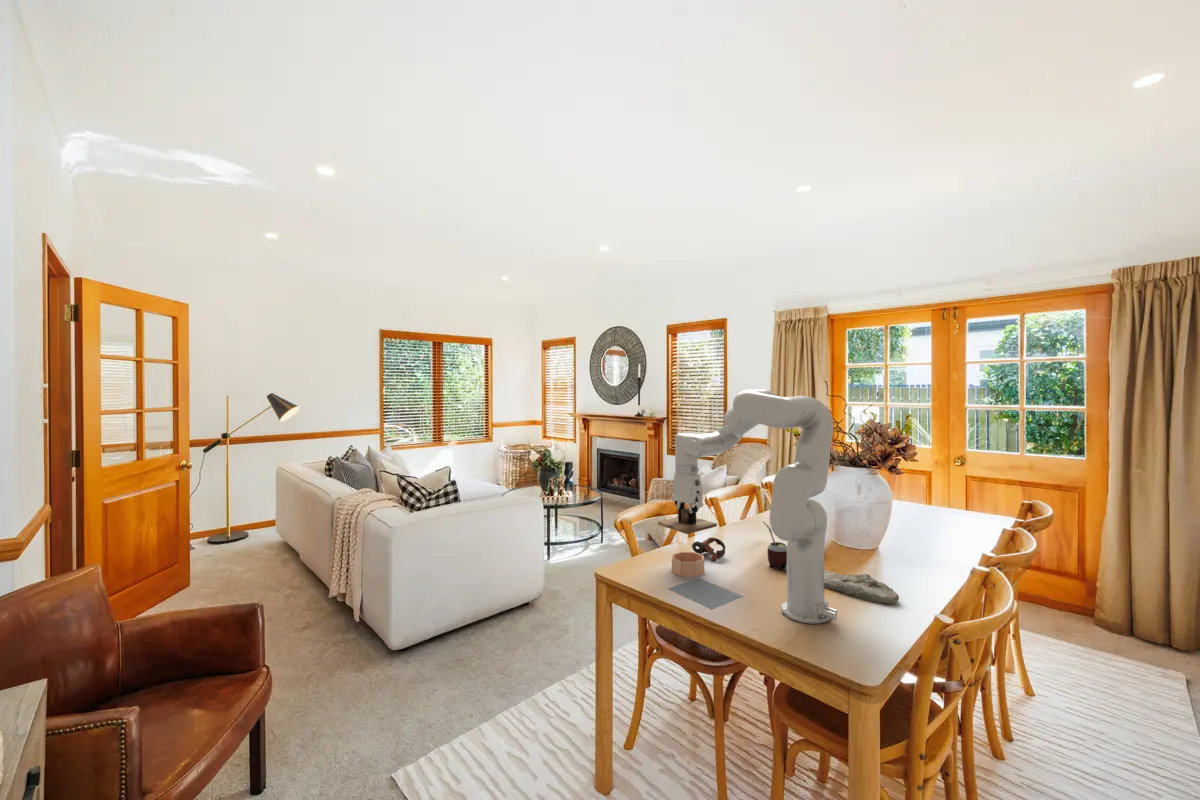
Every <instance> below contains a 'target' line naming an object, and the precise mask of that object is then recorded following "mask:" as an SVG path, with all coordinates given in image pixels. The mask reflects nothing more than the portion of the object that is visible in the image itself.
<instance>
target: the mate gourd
mask: <svg viewBox="0 0 1200 800" xmlns="http://www.w3.org/2000/svg"><path fill="white" fill-rule="evenodd" d="M762 523H763V524H764V525H765V526H766V527H767V529H768V532H770V536H771V539H772V542H771V543H770V544H769V545H768V546H767V550H766V551H767V560H768V564H769V565H768V567H778V568H779V569H778V568H777V569H778V571H780V570H782V571H783V568H781V567H785V566H786V565H787V544H785V543H784V542H779V541H775V539H774V535H773V531H772V528H771V526H769V524H767V523H766V522H765V521H762Z"/></svg>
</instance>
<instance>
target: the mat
mask: <svg viewBox="0 0 1200 800" xmlns="http://www.w3.org/2000/svg"><path fill="white" fill-rule="evenodd" d="M667 590H669V591H671V592H674V593H676V594H678V595H679V596H682V597H684V598H686V599H688V600H691V601H692V602H695V603H697V604H699V605H702V606H703V607H705V608H708V609H709V610H713V609H716V608H719V607H721V606H723V605H726V604H729V603H731V602H734V601H736V600H738V599H741V598H743V597H744V596H743V595H742V594H739V593H737V592H735V591H732V590H730V589H727V588H724V587H723V586H720V585H717V584H716V583H715V584H714V583H712V582H710V581H707V580H706V579H702V578H701V577H698V578H695V579H692V580H689V581H685V582H684V583H680V584H677V585H675V586H674V585H673V586H671V587H669V588H667Z"/></svg>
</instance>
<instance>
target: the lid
mask: <svg viewBox="0 0 1200 800" xmlns="http://www.w3.org/2000/svg"><path fill="white" fill-rule="evenodd" d="M688 513H690V512H689V507H688V508H686V507H685V508H684V509H681V522H679V521H678V516H677V517H673V518H669V519H664V520H660V521H658V522H657V525H658V526H661V527H664V528H666V529H670V530H673V531H676V532H679V533H682V534H685V535H690V534H694V533H697V532H702V531H705V530H709V529H712V528H716V527H718V523H717V522H713V521H710V520H706V519H703V518H699V517H696V524H692V525H689V524H688Z"/></svg>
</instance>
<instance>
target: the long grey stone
mask: <svg viewBox="0 0 1200 800" xmlns="http://www.w3.org/2000/svg"><path fill="white" fill-rule="evenodd" d="M784 571H785V574H787V565H786V566H785V568H784ZM825 588H826V589H828V588H829V590H834V591H837V592H840V593H841V592H842V593H843V594H845V595H849V596H852V597H855V598H856V597H857V598H859V599H862V600H865V601H868V602H876V603H879V604H889V605H893V604H895V603H897V602H898V601H899V599H900V597H899V594H898V593H897V592H896V591H894V589H893V588H891V587H890V586H888V585H887V584H886V583H883V582H882V581H878V580H876V579H875V578H873V577H871V575H870V574H869V573H868V574H867V573H860V574H854V575H853V574H841V573H836V572H833V571H830V570H826V569H824V589H825Z"/></svg>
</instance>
